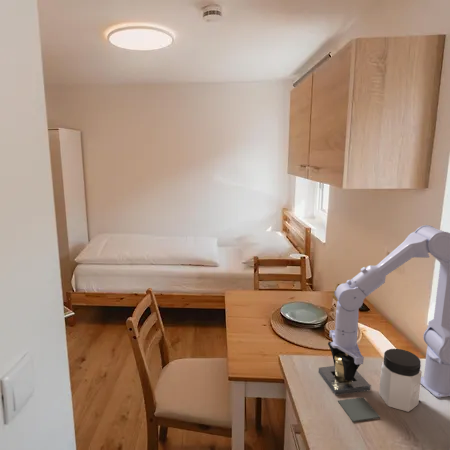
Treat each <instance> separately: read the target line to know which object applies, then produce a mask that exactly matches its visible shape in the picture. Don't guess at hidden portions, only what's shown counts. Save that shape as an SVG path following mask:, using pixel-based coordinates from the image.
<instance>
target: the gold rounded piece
mask: <svg viewBox="0 0 450 450" xmlns="http://www.w3.org/2000/svg"><path fill="white" fill-rule="evenodd" d="M340 356H348V354H346V353H338V354H336V355H335V361H336V362H335V376H334V377H335V378H336V379H337V381H338V382H339V383H345V382H353V381H352V380H348V381H346V380H345V378H344V367H343V363H342V360H341V358H340Z"/></svg>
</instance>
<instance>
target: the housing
mask: <svg viewBox="0 0 450 450" xmlns="http://www.w3.org/2000/svg"><path fill="white" fill-rule="evenodd" d="M318 374H319V375H320V377H322V379H323V381H324V382H325V383H326V384H327V387H329V389H330V390H331V391H332V393H333V395H334V396H339V395H347V394H348V395H349V394H354V393H360V392H361V393H362V392H368V391H371V384H370V383H369V382H368V381H367V379H365V378H364V377H363V376H362V375H361V374H360V373H359V372H358V370H357V371H356V373H355V376H354V378H353V380H352V382H345V383H339V382H338V381H337V379H336V378H335V366H334V365H331V366H330V365H329V366H322V367H321V366H320V367H318Z"/></svg>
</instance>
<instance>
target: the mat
mask: <svg viewBox="0 0 450 450" xmlns="http://www.w3.org/2000/svg"><path fill="white" fill-rule="evenodd" d="M337 402H338V404H339V405H340V407H341V408H342V409H343V411H344V412H345V413H346V415H347V416H348V418H349V419H350V421H351V422H352V423H358V422H364V421H371V420H377V419H381V416H380V414H378V412H377V411H376V410H375V409H374V408H373V407H372V406H371V404H370V403H369V402H368V401H367V399H366V398H365V397H363V396H362V397H355V398H353V397H352V398H347V399H340V400H339V399H338V401H337Z"/></svg>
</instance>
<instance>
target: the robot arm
mask: <svg viewBox="0 0 450 450" xmlns="http://www.w3.org/2000/svg"><path fill="white" fill-rule="evenodd" d="M404 239H405V240H403V242H402V243H400V244H399V245H398V246H397V247H396V248H394V249H393V250H392V251H391V252H390V253H388V254H387V255H386V256H385V257H384V258H383V259H382V260H381V261H379V262H378V263H377V264H376V265H370V264H369V265H367V266H366V267H365V266H363V267H362V268H360V272H358V273H357V274H356V275H355V276H353V277H352V278H351V279H347V280H346V282H345V283H344V282H342V283H341V284H339V285H338V286H337V287H336V290H334V296H335V298H336V300H337V301H336V310H335V325H334V326H335V327H334V329H331V330H329V338H330V339H332V341H328V343H327V345H328V347H329V349H330V352H331V356H332V360H333V366H335V362H336V361H335V355H336V354H338V353H346V354H348V356H340V358H341V360H342V363H343V367H344V378H345V380H346V381H348V380H353V378H354V376H355V373H356V371H358V369H359V367H360V366H361V365H364V358H365V357H364V356H363V355H362V353H361V350H360V347H359V345H358V331H359V330H358V328H359V316H360V315H359V312H360V311H359V309H361V308H362V306H363V304H364V300H365V299H366V298H367V297H368V296H369V295H371V294H372V293H373V292H375V291H376V290H377V289H379V288H380V287H382V285H384V284H385V283H386V278H387V276H388V275H389V274H391V273H392V272H394V271H395V270H397V269H398V268H399V267H401V266H403V265H404V264H405V263H406V262H409V261H410V260H411V259H412V258H420V259H421V258H424V259H425V258H430V255H431V256H432V257H433V258H435V259H436V260H437V261H438V262H439V264H440V265H439V271H438V273H439V274H438V281H437V288H436V289H437V290H436V297H435V298H436V299H435V305H434V314H433V315H434V316H433V319H431V320H429V321H428V325H427V328H426V330H424V332H423V335H422V336H423V341H424V342H425V344H426V353H425V361H424V362H425V363H424V370H423V372H424V374H423V376H421V382H420V385H422V386H423V387H424V388H425V389H426V390H427V391H429V392H430V393H431V394H432V395H433V396H434V397H435V398H438V399H441V398H444V397H446V398H447V397H450V232H448V231H444V230H442V229H438V228H436V227H434V226H433V225H427V224H425V225H424V224H423V225H421V226H419V227H417V228H416V230H415V231H412V232H411V233H409V234H408V235H407V236H406V237H405V238H404ZM429 254H430V255H429Z"/></svg>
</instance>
